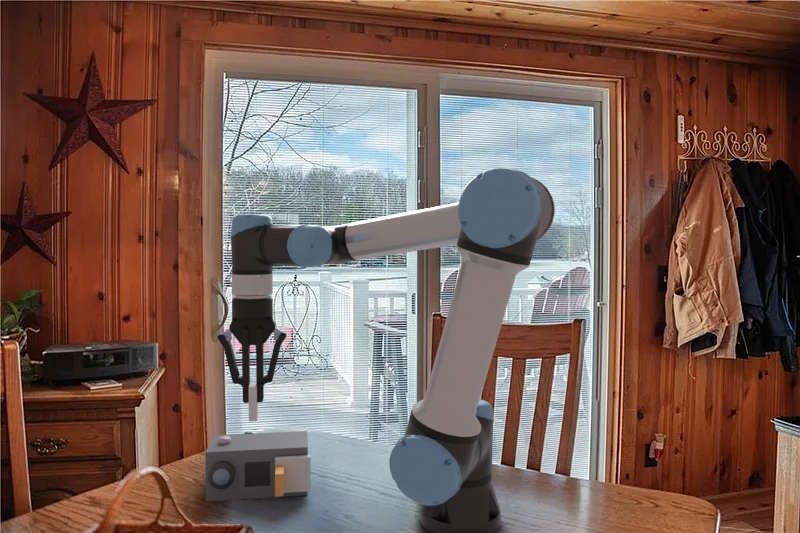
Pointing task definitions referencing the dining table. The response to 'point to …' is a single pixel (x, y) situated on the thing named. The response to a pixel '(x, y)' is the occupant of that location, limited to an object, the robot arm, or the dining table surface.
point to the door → (292, 474)
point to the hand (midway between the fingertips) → (253, 418)
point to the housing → (249, 464)
